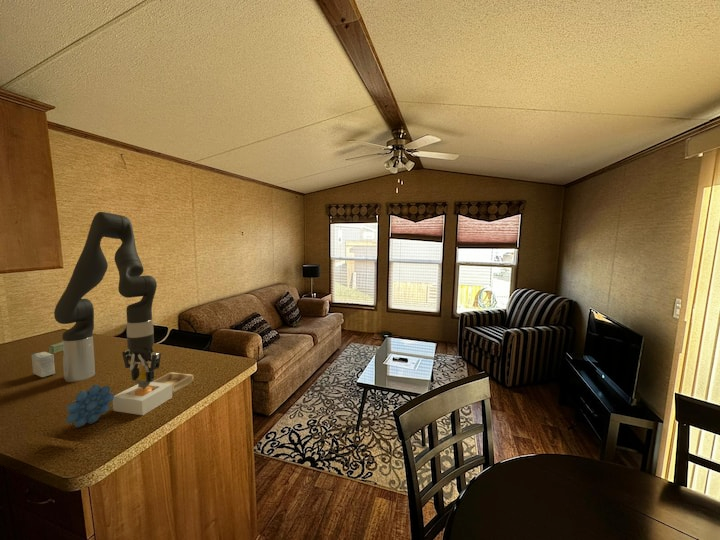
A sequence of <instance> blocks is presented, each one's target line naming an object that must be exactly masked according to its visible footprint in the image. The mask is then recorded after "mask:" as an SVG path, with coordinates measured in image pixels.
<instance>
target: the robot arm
mask: <svg viewBox="0 0 720 540" xmlns="http://www.w3.org/2000/svg"><path fill="white" fill-rule="evenodd" d="M103 238H108V239H114V240H115V239H116V240H120V241H121V245H120V246H119V247H118V248H117V250H116V251H115V254H114V263H115V265H116V267H117V270H118V274H119V275H118V276H119V281H118V293H119V295H120V296H121V297H123V298H126V299H127V298H130V299H131V298H138V297H139V298H140V297H142V298H141V299H140V300H139V301H137V302H134V303H131V304H129V305H127V306H126V311H125V312H126V343H127V346H126V347H127V349H126V350H124V351H122V357H123V362H124V366H125V368H126V369H129V371H130V373H131V374H130V375H131V380H132V381H133V382H134V381H136V379H137V378H138V376H139V375H140V368H139V367H140V364H141V365H142V368H143V367H145V369H146V381H147V382H151V381H153V379H154V380H155V370H158V369H159V368H160V364H161V355H162V353H161V352H154V349H153V346H154V344H155V333H154V332H155V331H154V330H155V329H154V322H153V313H152V311H153V308H152V307H153V303H154V299H155V295H156V291H157V286H158V285H157V284H158V283H157V281H156V278H155V277H153V276H152V275H143V273H144V266H143V263H142V262H141V259H140V257H139V254H138V252H137V247H136V240H135V234H134V229H133V225H132V221H131V220H130V219H129V218H128V217H127V216H124V215H121V214H115V213H111V212H105V211H98V212H97V213H96V214H94V216H93V217H92V221H91V224H90V227H89V231H88V233H87V238H86V241H85V244H84V245H83V249H82V251H81V253H80V255H79V258H78V260H77V261H76V264H75V267H74V269H73V272H72V275H71V277H70V279H69V282H68V284H67V285H66V288H65V290H64V292H63V293H62V294H61V296H60V299H59V300H58V302H57V303H56V305H55V308H54V313H53V315H54V319H55V321H56V322H57V323H59V324H61V325H67V324H74V323H75V324H74V325H73V326H72V327H70V328H69V329H67V330H65V331H64V332H63V333H62V336H61V339H62V342H63V350H62V351H63V357H62V365H63V366H62V368H63V380H65V382H67V383H74V382H80V381H85V380H87V379H89V378H92V377H94V376H95V375H96V368H95V367H96V364H95V349H94V348H95V347H94V337H93V332H94V330H95V329H94V328H95V321H94V320H95V311H94V308H95V307H94V305H93V302H91V300H90V299H88V298H83V297H84V296H86V295H87V294H88V293H89V292H90V291H92V290H93V289H94V288H95V287H97V286H98V285H99V284H100V283H101V282H102V280H103V279H104V277H105V274H106V273H107V270H108V266H109V264H108V261H107V259H106V258H107V257H106V256H105V255H104V254H105V253H104V252H103V250H102V248H101V241H102V239H103ZM147 361H148V363H146V362H147ZM148 365H149V366H148ZM149 367H150V368H149Z"/></svg>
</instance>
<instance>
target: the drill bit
mask: <svg viewBox="0 0 720 540" xmlns="http://www.w3.org/2000/svg"><path fill="white" fill-rule="evenodd" d="M148 362H149V361H147V362H146V363H148ZM148 366H149V368H150V365H148ZM154 380H155V378H154V379H153V381H154ZM153 381H151V382H153ZM135 384H138V387H141V388H143V390H144V389H145V388H146V387H147V386H148V385H149V384H150V382H147V381H146V369H145V367H143V366H142V369H141V371H140V372H139V376H138V378H137V379H136V380H135Z"/></svg>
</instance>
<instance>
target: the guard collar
mask: <svg viewBox="0 0 720 540" xmlns="http://www.w3.org/2000/svg"><path fill="white" fill-rule="evenodd" d="M138 384H139V383H136V384H135V385H134V386H132V387H128V388H127V389H125V390H122V391H120V392H119V393H117V394H115V395H114V398H113V400H112V410H113V411H114V412H119V413H125V414H133V415H138V416H144V415H146V414H148V413H149V412H151V411H153V410H154V409H156V408H157V407H159V406H161V405H162V404H164V403H166V402H168V400H170V399H172V398H173V394H172V384H165V383H157V382H150V384H149V385H148V386H147V387H152V391H151V392H150V393H148V394H146V395H144V396H137V395H135V390H137V389H139V388H141V387H138Z"/></svg>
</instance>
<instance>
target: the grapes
mask: <svg viewBox="0 0 720 540" xmlns="http://www.w3.org/2000/svg"><path fill="white" fill-rule="evenodd" d="M114 396H115V395H114V393H112V392H111V387H110V386H109V385H104V386H102V387H101V385H100V384H93V385H91V387H90V388H89V389H88V390H81V391H80V392H78V393H77V394H76V396H75V400H74V401H72V402H71V403H69V404H68V405H67V408H66V412H67V413H69V414H68V415H67V416H66V419H65V421H66V423H67V424H72V423H73V424H74V427H75V428H81V427H83V426H85V425H86V424H87V423H88V424H94V423H96V422H97V421H99V418H100V415H104V414H107V412H108V411H109V409H110V407H111V405H110V404H109V403H111V402H113V398H114Z"/></svg>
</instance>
